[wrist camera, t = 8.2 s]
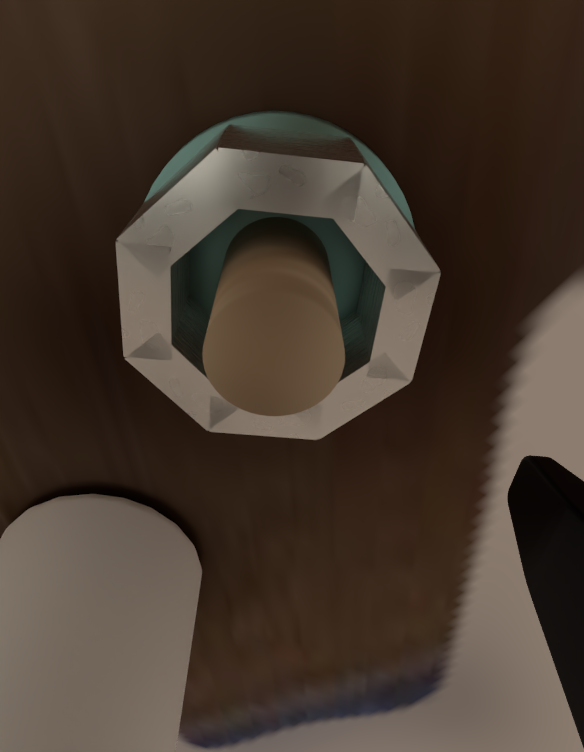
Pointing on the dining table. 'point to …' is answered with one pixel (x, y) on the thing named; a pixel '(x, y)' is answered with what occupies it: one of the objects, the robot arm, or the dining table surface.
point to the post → (276, 288)
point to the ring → (289, 196)
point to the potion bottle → (94, 627)
